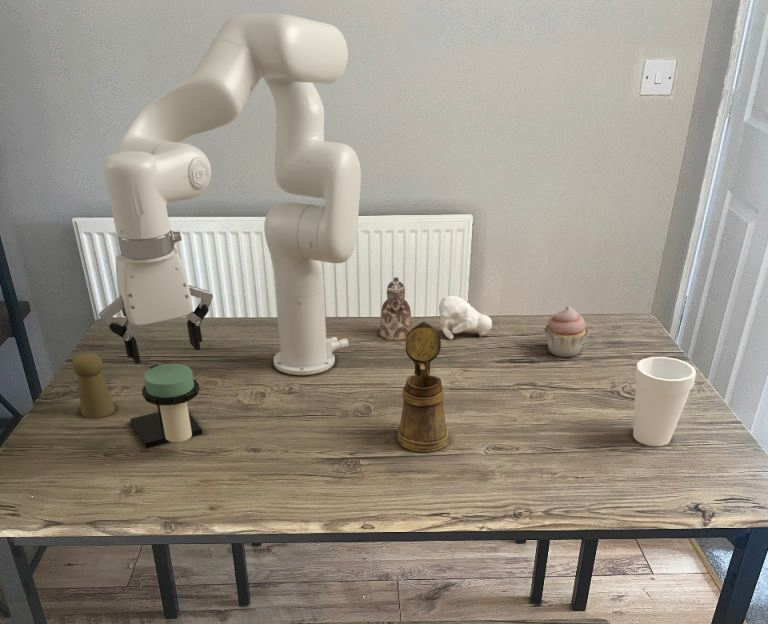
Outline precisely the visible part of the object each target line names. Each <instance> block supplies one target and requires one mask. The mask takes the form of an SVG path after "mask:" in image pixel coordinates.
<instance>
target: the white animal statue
mask: <svg viewBox="0 0 768 624" xmlns="http://www.w3.org/2000/svg"><path fill="white" fill-rule="evenodd" d="M438 314H439V320H438V321H439V325H440V328H441V330H442V332H443V334H444V335H445V337H446V338H448V340H454V334H459V333H462V332H465V331H471V330H474V331H477V334H478V336H479V338H481V337H482V336H486V335H487V333H488V332H489V331H491V329H492V327H493V321H492V318H491V317H490V316H488V315H486V314H483V313H480V312H479V311H478V310H476V309H475V307H473V306H471V304H470V303H469V302H467V301H466V300H465V299H464V298H462V297H460V296H456V295H447V296H445V297H442V299H441V300H440V302H439V305H438ZM453 325H455V327H453Z"/></svg>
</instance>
